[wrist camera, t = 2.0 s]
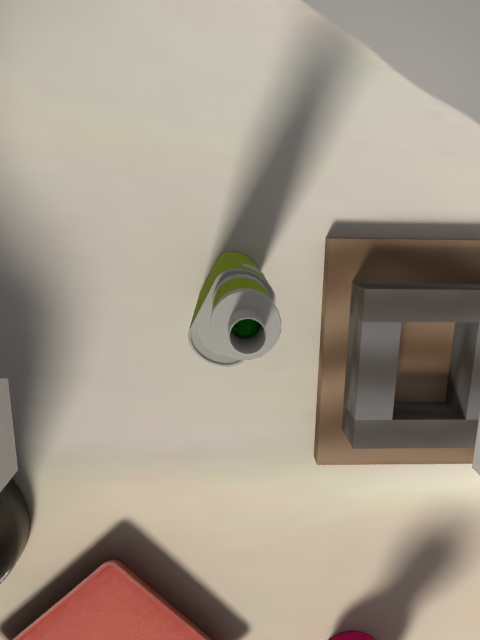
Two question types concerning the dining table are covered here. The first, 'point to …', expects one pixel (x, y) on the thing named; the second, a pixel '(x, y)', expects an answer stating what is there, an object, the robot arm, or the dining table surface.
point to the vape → (234, 313)
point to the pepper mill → (352, 636)
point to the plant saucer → (112, 611)
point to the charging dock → (399, 352)
